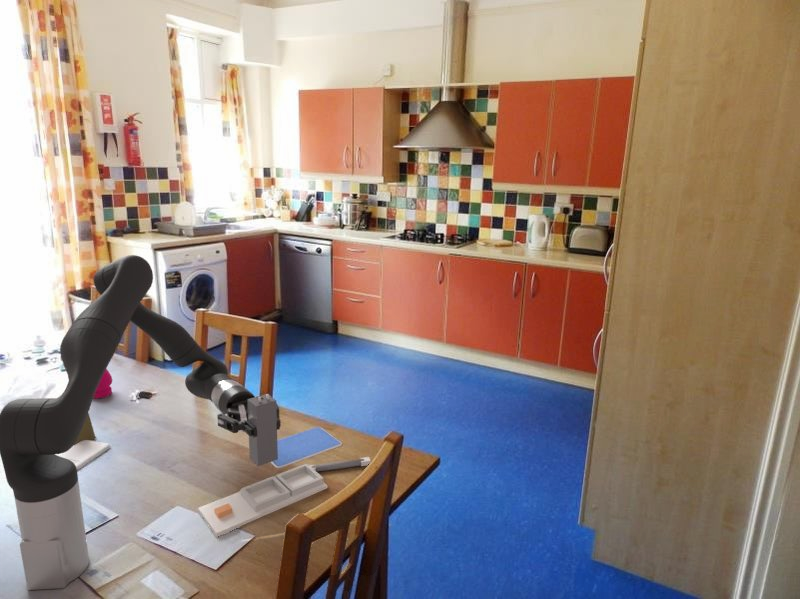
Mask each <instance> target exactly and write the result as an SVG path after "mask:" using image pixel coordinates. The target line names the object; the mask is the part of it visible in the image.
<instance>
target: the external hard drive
mask: <svg viewBox="0 0 800 599" xmlns="http://www.w3.org/2000/svg"><path fill="white" fill-rule="evenodd" d="M109 449H111V444H110V443H107V442H101V441H95V440H93V441H90V440H84V441H81V442H79V443H77V444H76V445H74V446H72V447H71V448H70V449H69V450H68V451H67V452H64V453H61V454H57V456H60V457H63V458H66V459H68V460H70V461H72V462H73V463H74V464H75V466H76V468H77V471H79V470H80V469H81V468H83V467H84V466H86V465H87V464H88V463H91V461H93V460H95V459H96V458H97V457H99V456H100V455H102V454H104V453H105V452H106V451H108V450H109Z"/></svg>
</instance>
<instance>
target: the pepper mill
mask: <svg viewBox="0 0 800 599" xmlns="http://www.w3.org/2000/svg"><path fill="white" fill-rule="evenodd" d="M112 383H113V377H112V375H111V373H110V372H109V370H108V369H107V368H106V370H105V372H104V374H103V376H102V378H101V381H100V383H99V385H98V387H97V389H96V392H95V395H94V397H93V398H99V399H103V398H102V397H104V398H107V397H109V396H111V395H112V393H113V390H112V389H113V388H112V386H111V385H112ZM110 394H111V395H110ZM108 395H109V396H108ZM106 396H107V397H106Z"/></svg>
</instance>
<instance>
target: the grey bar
mask: <svg viewBox="0 0 800 599" xmlns="http://www.w3.org/2000/svg"><path fill="white" fill-rule="evenodd" d="M370 462H371V463H372V461H371V459H370V457H369V456H365V457H359V458H356V459H349V460H342V461H336V462H329V463H322V464H321V463H320V464H308V465H309V466H310V467H311V468H313V469H314V470H315V471H316V472H317V473H318V472H326V471H333V470H339V469H346V468H353V467H368V466H369V465H368V464H369V463H370ZM305 472H306V469H305Z"/></svg>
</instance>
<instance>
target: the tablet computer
mask: <svg viewBox="0 0 800 599" xmlns="http://www.w3.org/2000/svg"><path fill="white" fill-rule="evenodd" d="M342 445H343V443H342V442H341V441H340V440H338V438H335V437H334V436H333V435H332V434H330V433H329V432H328V431H326V430H325V428H323V427H321V426H315V427H313V428H309V429H306V430H304V431H302V432H301V431H300V432H298V433H295V434H293V435H292V434H291V435H289V436H286V437H282V438H280V439H277V446H278V459H277V460H275V461H272V462H270V463H271V465H272V466H274V468H276V469H281V468H286V467H287V466H290V465H292V464H295V463H298V462H300V461H304V460H306V459H309V458H312V457H314V456H317V455H320V454H323V453H325V452H328V451H331V450H333V449H336V448H339V447H341V446H342Z"/></svg>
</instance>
